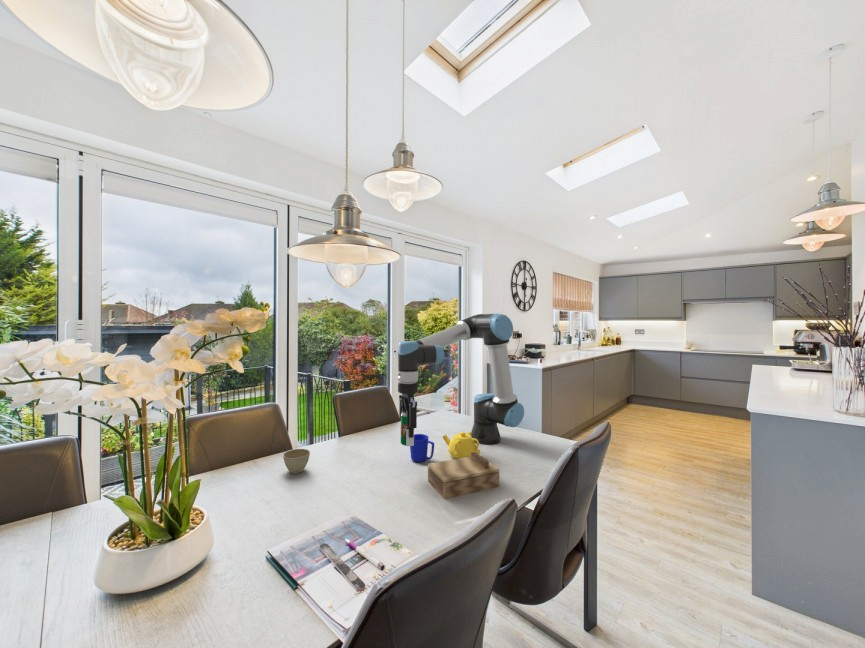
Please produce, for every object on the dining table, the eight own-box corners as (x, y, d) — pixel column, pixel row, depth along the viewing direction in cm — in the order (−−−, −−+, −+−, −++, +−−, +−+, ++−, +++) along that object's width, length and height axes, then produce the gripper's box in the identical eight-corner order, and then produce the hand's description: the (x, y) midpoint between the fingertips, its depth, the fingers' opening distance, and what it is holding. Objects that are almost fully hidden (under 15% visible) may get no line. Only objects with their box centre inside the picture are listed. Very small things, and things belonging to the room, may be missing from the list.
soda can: (408, 440, 137) (408, 409, 137) (416, 443, 134) (416, 412, 134) (397, 443, 134) (398, 412, 134) (406, 447, 130) (406, 414, 130)
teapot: (470, 449, 165) (470, 426, 165) (483, 460, 153) (483, 435, 152) (441, 453, 161) (441, 429, 161) (452, 465, 148) (452, 438, 148)
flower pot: (280, 477, 135) (280, 459, 135) (285, 466, 145) (285, 449, 144) (308, 475, 137) (308, 457, 137) (311, 465, 147) (311, 447, 146)
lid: (478, 457, 140) (479, 449, 140) (499, 471, 127) (499, 462, 127) (427, 466, 131) (428, 457, 131) (444, 482, 118) (444, 472, 118)
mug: (427, 467, 145) (427, 443, 145) (405, 460, 152) (405, 437, 152) (439, 461, 151) (439, 438, 151) (417, 454, 159) (417, 432, 159)
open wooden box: (478, 473, 140) (478, 458, 140) (499, 489, 127) (499, 472, 127) (427, 483, 131) (427, 467, 131) (444, 501, 118) (444, 483, 118)
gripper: (391, 378, 140) (390, 437, 141) (406, 386, 124) (406, 452, 124) (409, 377, 143) (408, 434, 144) (426, 385, 127) (425, 449, 127)
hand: (407, 442), depth 134 cm, fingers closed on soda can, 5 cm apart
